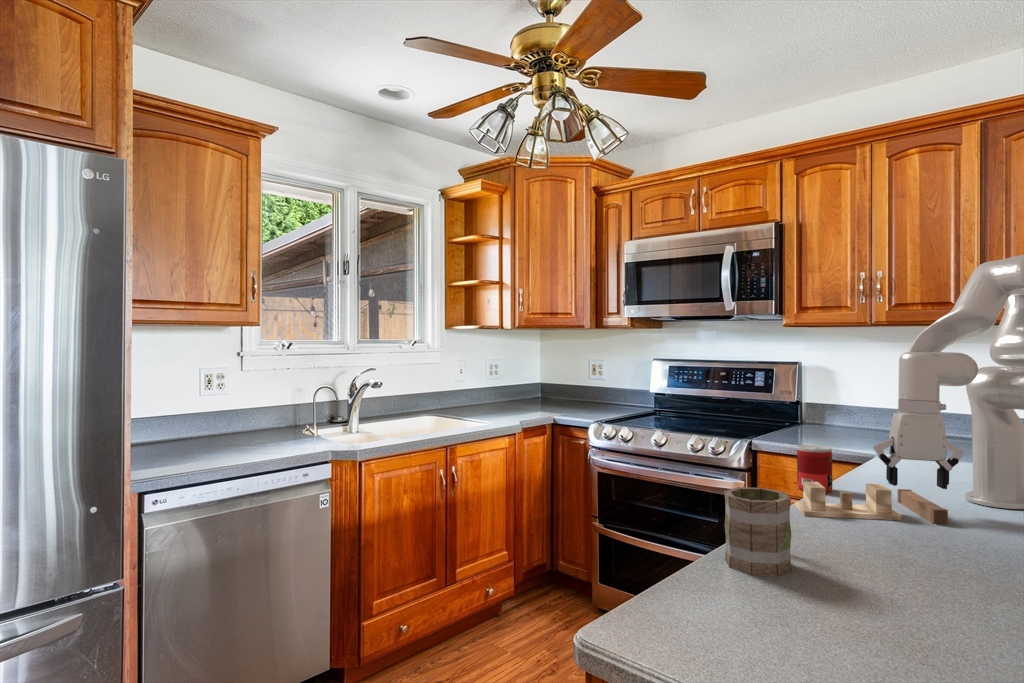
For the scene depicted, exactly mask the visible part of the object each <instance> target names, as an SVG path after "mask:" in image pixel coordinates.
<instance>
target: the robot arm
mask: <svg viewBox="0 0 1024 683" xmlns="http://www.w3.org/2000/svg"><path fill="white" fill-rule="evenodd" d="M1003 308H1004V312H1003V314H1002V318H1001V320H1000V321H999V324H998V327H997V330H996V331H995V334H994V336H993V338H992V341H991V343H990V347H989V357H990V358H991V360H992V361H993V362H994V363H996V364H997V366H996V365H994V366H991V365H990V366H982V367H980V368H979V367H978V363H977V362H976V360H975V359H974V357H971V356H970V355H968V354H966V353H963V352H951V351H950V352H949V351H948V352H947V351H945V352H943V350H944V349H946V348H947V347H949V346H951V345H953V344H955V343H957V342H959V341H962V340H963V341H964V340H965V339H969V338H971V337H974V336H976V335H980V334H982V333H984V332H986V331H988V330H991V328H993V327H994V325H995V324H996V321H997V320H998V318H999V316H1000V314H1001V313H1002V311H1003ZM998 365H999V366H998ZM940 386H941V387H942V386H944V387H962V386H965V390H966V394H967V398H968V402H969V406H970V413H971V425H972V426H971V428H972V430H971V433H972V434H971V435H972V436H971V437H972V438H971V439H972V441H971V442H972V490H973V491H967V492H966V493H965V494H964V498H965V500H967V501H969V502H970V503H973V504H977V505H981V506H987V507H991V508H998V509H999V508H1000V509H1007V510H1010V509H1011V510H1024V424H1023V421H1022V420H1021V418H1020V416H1019V415H1018V413H1017V412H1016V411H1015V410H1019V411H1020V410H1021V411H1024V254H1020V255H1014V256H1011V257H1008V258H1003V259H998V260H997V259H995V260H991V261H989V260H988V261H986V262H983V263H981V264H979V265H978V266H976V267H975V269H974V270H973V271H972V273H971V275H970V276H969V278H968V279H967V282H966V283H965V285H964V288H963V289H962V291H961V292H960V295H959V296H958V298H957V300H956V301H955V304H954V306H953V307H952V309H951V310H950V311H949V312H948V313H946V314H945V315H943V316H941V317H940V318H938V319H937V320H935V321H934V322H933V323H931V324H930V325H929V326H927V327H926V328H925V329H923V330H922V331H921V332H920V333H919V334H918V335H917V337H916V338H915V339H914V340H913V341H912V343H911V345H910V348H909V349H908V351H907V352H903V353H901V354H900V356H899V360H898V401H897V403H898V406H897V407H898V408H897V409H898V410H897V412H893V415H892V417H891V418H892V419H891V424H890V430H889V438H888V439H886V440H883V441H881V442H878V443H876V444H874V445H873V450H874V451H875V453H876V455H877V457H878V459H879V460H880V461H882V463H883V464H884V465H886V470H885V471H886V472H885V474H886V481H888V482H887V483H888V484H889V485H891V486H894V487H895V486H898V480H899V478H898V474H899V470H898V467H896V465H898V463H900V462H901V460H906V461H907V460H908V461H909V460H910V461H923V462H924V461H926V462H935V463H936V464H937V465H938V466H939V467H938V468H937V469H936V486H937V487H938V488H939V489H940V488H941V489H942V490H947V489H948V486H949V484H950V471H952V470H953V469H954V467H955V466H957V465H958V464H959V462H960V460H961V459H962V457H963V455H964V454H965V453H964V452H965V451H963V450H962V449H961V448H959V447H956V446H955V445H953V444H951V443H949V442H947V433H946V426H945V421H944V418H943V416H942V415H940V413H941V412H942V411H946V410H947V405H946V403H941V401H940V392H941V391H940ZM886 448H888V454H889V456H887V455H886V454H885V451H884V450H885V449H886ZM948 451H949V452H951V454H952V455H951V456H950V457H949V458H948V459H947V456H948V455H947V454H948Z"/></svg>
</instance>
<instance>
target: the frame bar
mask: <svg viewBox="0 0 1024 683" xmlns="http://www.w3.org/2000/svg"><path fill="white" fill-rule="evenodd" d="M897 503H898V504H901V505H902V506H904V507H905V508H907V509H909V510H910V511H912V512H913V513H915V514H916V515H918V516H920V517H921V518H923V519H925V520H926V521H928V522H929V521H930V522H929V523H931V524H932V525H934V524H936V526H949V509H947V508H944V507H942V506H940V505H938V504H936V503H934V502H933V501H931V500H929V499H927V498H925V497H923V496H922V495H919V494H918V493H917V492H914V491H913V490H912V489H910V488H909V489H908V488H907V489H906V488H897Z"/></svg>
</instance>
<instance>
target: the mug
mask: <svg viewBox="0 0 1024 683" xmlns="http://www.w3.org/2000/svg"><path fill="white" fill-rule="evenodd" d="M723 494H724V500H725V501H724V504H725V515H724V530H725V531H724V532H725V533H724V534H725V555H724V561H725V562H726V564H727V566H728V568H729V569H732V570H734V571H738V572H741V573H744V574H747V575H750V576H757V577H758V576H760V577H761V576H763V577H782V575H785V574H788V573H790V572H792V571H793V569H792V568H793V567H792V561H791V545H792V544H791V543H792V528H791V520H790V519H791V518H790V517H791V514H790V513H791V502H792V497H790V496H789V495H788V494H786V492H784V491H779V490H776V489H775V490H774V489H770V488H764V487H746V486H745V487H744V486H743V487H740V486H739V487H734V488H729V489H726V490H723Z"/></svg>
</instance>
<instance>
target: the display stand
mask: <svg viewBox="0 0 1024 683" xmlns="http://www.w3.org/2000/svg"><path fill="white" fill-rule="evenodd" d="M802 492H803V494H802V495H803V497H802V498H803V501H795V505H794V506H795V507H796V509H798V511H799V512H800V513H801V514H802V515H803V516H804V517H819V518H821V517H823V518H839V519H840V518H842V519H843V518H845V519H862V520H863V519H865V520H866V519H867V520H886V521H887V520H889V521H902V518H903V516H902V515H901V514H900V513H898V512H897V511H895V510H894V509H893V507H892V506H893V505H892V503H893V502H892V500H893V499H892V496H893V495H892V489H889V488H888V487H886V486H885V485H883V484H881V483H865V504H859V503H858V504H856V503H855V504H854V503H853V493H852V492H850V491H839V503H834V502H833V503H830V502H829V503H827V502H826V494H825V488H824V487H823V486H822V485H821V484H819V483H818V482H803V491H802Z"/></svg>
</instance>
